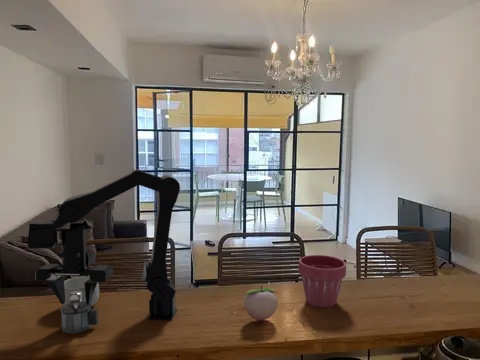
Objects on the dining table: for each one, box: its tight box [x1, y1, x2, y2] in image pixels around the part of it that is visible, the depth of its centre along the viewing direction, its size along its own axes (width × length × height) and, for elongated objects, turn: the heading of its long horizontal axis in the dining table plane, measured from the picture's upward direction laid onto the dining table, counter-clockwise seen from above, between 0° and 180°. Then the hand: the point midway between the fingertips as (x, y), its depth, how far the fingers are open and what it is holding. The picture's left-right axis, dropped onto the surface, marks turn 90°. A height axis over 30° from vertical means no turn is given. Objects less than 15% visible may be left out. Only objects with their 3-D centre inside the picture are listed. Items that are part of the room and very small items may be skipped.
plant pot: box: [298, 254, 347, 308], centre depth 122 cm, size 14×14×13 cm
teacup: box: [62, 276, 100, 307], centre depth 120 cm, size 14×11×8 cm
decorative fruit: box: [243, 285, 279, 322], centre depth 108 cm, size 9×8×10 cm
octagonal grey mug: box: [59, 301, 99, 334], centre depth 105 cm, size 9×7×6 cm
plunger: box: [69, 291, 82, 309], centre depth 105 cm, size 5×5×8 cm
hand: (75, 304), depth 105 cm, fingers open, 7 cm apart
